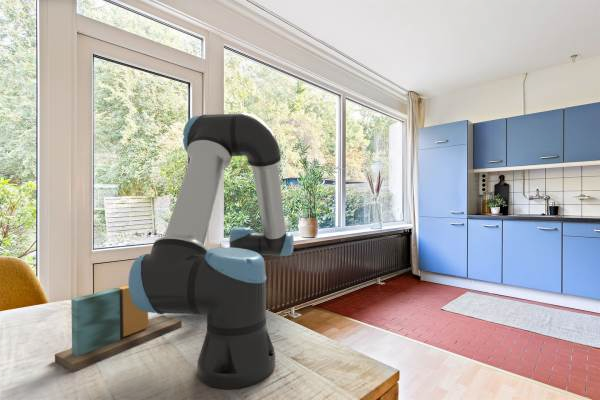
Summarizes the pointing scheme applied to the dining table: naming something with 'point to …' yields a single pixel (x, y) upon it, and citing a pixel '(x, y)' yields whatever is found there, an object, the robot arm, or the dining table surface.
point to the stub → (131, 314)
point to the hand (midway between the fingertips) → (159, 297)
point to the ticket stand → (105, 330)
